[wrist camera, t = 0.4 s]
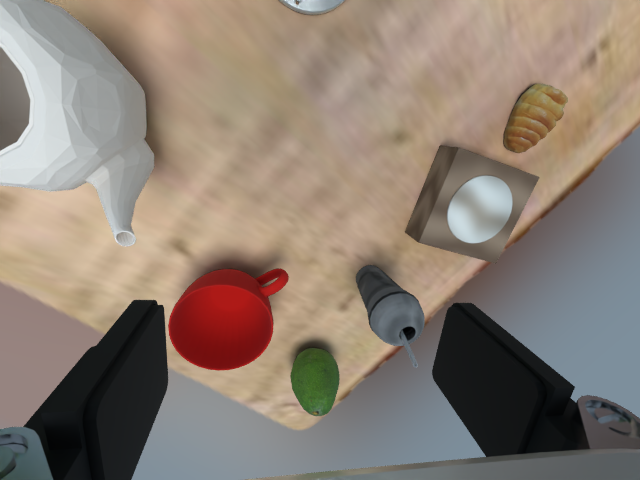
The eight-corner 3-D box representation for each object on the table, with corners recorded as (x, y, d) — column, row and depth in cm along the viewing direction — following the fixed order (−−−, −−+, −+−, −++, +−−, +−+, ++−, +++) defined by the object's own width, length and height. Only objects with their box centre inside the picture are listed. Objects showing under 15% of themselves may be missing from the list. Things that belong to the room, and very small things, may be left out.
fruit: (288, 338, 54) (294, 393, 42) (333, 335, 55) (350, 388, 44) (288, 375, 56) (293, 436, 45) (331, 371, 57) (347, 430, 46)
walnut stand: (439, 145, 46) (460, 147, 41) (514, 172, 50) (541, 177, 45) (404, 232, 50) (420, 243, 45) (476, 251, 54) (497, 264, 49)
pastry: (521, 159, 50) (540, 162, 46) (490, 140, 48) (507, 141, 44) (557, 102, 47) (581, 100, 44) (526, 79, 46) (548, 75, 42)
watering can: (145, 233, 44) (63, 302, 26) (-46, 59, 35) (-370, -14, 17) (229, 163, 43) (201, 187, 25) (54, -37, 33) (-185, -224, 16)
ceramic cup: (308, 283, 51) (317, 317, 41) (225, 340, 52) (216, 387, 42) (257, 221, 46) (255, 245, 37) (168, 286, 47) (143, 325, 38)
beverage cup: (397, 280, 53) (467, 362, 34) (361, 304, 54) (411, 397, 35) (376, 249, 50) (440, 318, 32) (339, 273, 51) (380, 356, 32)
